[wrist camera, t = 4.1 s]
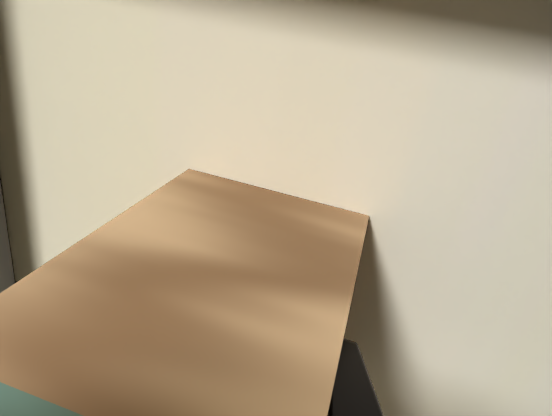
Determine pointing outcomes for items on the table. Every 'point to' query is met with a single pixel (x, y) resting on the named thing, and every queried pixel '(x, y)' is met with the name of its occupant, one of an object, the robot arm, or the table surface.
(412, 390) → the table surface
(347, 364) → the robot arm
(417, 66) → the table surface
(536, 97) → the table surface
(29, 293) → the oak block
